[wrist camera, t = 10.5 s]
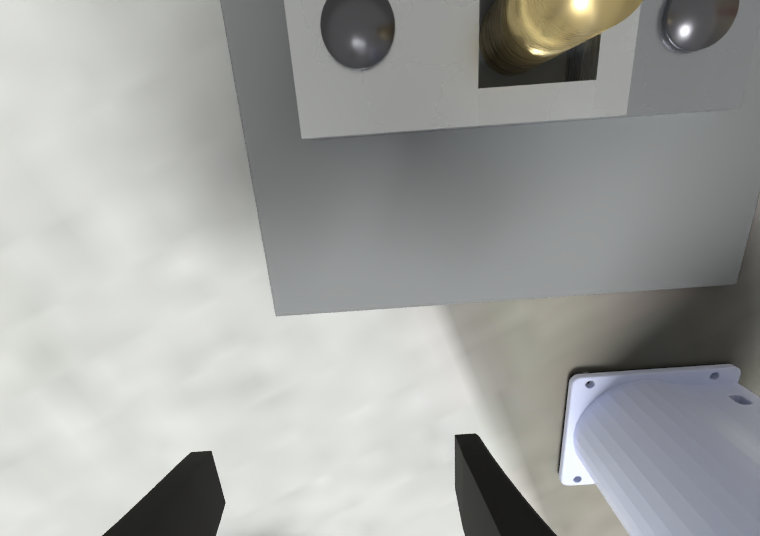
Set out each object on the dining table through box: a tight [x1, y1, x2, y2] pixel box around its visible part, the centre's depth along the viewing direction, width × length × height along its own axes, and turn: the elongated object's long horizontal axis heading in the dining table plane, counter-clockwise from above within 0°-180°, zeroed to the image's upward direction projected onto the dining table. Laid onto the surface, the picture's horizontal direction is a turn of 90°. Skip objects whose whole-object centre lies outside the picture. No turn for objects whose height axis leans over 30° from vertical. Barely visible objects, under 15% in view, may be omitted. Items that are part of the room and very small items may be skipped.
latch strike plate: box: [284, 0, 760, 141], centre depth 14 cm, size 18×7×3 cm, turn 94°
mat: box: [220, 0, 760, 316], centre depth 16 cm, size 24×18×1 cm
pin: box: [479, 0, 643, 76], centre depth 12 cm, size 3×3×6 cm
